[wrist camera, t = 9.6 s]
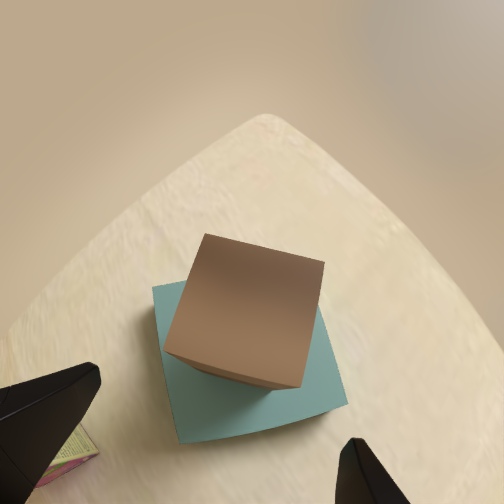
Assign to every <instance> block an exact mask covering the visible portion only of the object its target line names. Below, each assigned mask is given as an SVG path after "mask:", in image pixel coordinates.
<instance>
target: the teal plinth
mask: <svg viewBox="0 0 504 504" xmlns="http://www.w3.org/2000/svg"><path fill="white" fill-rule="evenodd" d="M186 281H187V280H186ZM186 281H181V282H176V283H171V284H166V285H160V286H155V287H152V289H153V299H154V308H155V316H156V324H157V331H158V338H159V345H160V351H161V357H162V363H163V369H164V375H165V380H166V385H167V390H168V395H169V400H170V405H171V409H172V414H173V418H174V422H175V427H176V431H177V435H178V439H179V443H180V444H186V443H195V442H202V441H209V440H216V439H222V438H228V437H233V436H238V435H243V434H248V433H253V432H257V431H262V430H266V429H270V428H274V427H278V426H282V425H285V424H289V423H293V422H296V421H299V420H303V419H306V418H309V417H312V416H316V415H319V414H322V413H325V412H327V411H330V410H333V409H336V408H339V407H341V406H344V405H347V404H348V401H347V398H346V394H345V391H344V387H343V383H342V380H341V377H340V373H339V370H338V366H337V363H336V360H335V356H334V353H333V350H332V346H331V343H330V340H329V337H328V334H327V330H326V327H325V324H324V321H323V318H322V315H321V312H320V308H319V305H318V307H317V312H316V318H315V323H314V328H313V333H312V338H311V343H310V348H309V353H308V358H307V362H306V367H305V371H304V376H303V380H302V384H301V388H294V389H284V390H274V391H271V390H267V389H262V388H258V387H254V386H250V385H246V384H242V383H238V382H234V381H230V380H227V379H223V378H220V377H216V376H213V375H209V374H206V373H203V372H200V371H198V370H196V369H195V368H193V367H191V366H189V365H187V364H185V363H184V362H182V361H180V360H178V359H177V358H175V357H173V356H171V355H170V354H168V353H166V352H165V351H163V347H164V344H165V341H166V338H167V335H168V332H169V329H170V326H171V323H172V320H173V317H174V315H175V312H176V309H177V306H178V303H179V301H180V298H181V295H182V292H183V290H184V287H185V284H186Z"/></svg>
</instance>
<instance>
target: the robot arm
mask: <svg viewBox="0 0 504 504" xmlns="http://www.w3.org/2000/svg"><path fill="white" fill-rule="evenodd" d="M100 386H101V377H100V371H99V367H98V366H97V365H95V364H93V363H91V362H85V363H82V364H79V365H76V366H73V367H70V368H67V369H64V370H61V371H58V372H55V373H52V374H49V375H45V376H42V377H39V378H36V379H32V380H29V381H26V382H22V383H19V384H15V385H12V386H11V387H10V386H8V387H4V388H1V389H0V504H25V502H26V501H27V499H28V497H29V496H30V494H31V493H32V491H33V490H34V488H35V486H36V485H37V483H38V482H39V480H40V479H41V477H42V476H43V474H44V473H45V471H46V470H47V468H48V467H49V465H50V464H51V462H52V461H53V460H54V458H55V457H56V455H57V454H58V452H59V451H60V449H61V448H62V446H63V445H64V444H65V442H66V441H67V439H68V438H69V437H70V435H71V434H72V432H73V431H74V429H75V428H76V427H77V425H78V424H79V422H80V421H81V420H82V418H83V417H84V415H85V413H86V412H87V410H88V408H89V406H90V404H91V402H92V401H93V399H94V397H95V395H96V393H97V392H98V390H99V388H100ZM335 504H410V502H409V501H408V500H407V498H406V497H405V495H404V494H403V493H402V491H401V490H400V489H399V487H398V486H397V485H396V483H395V482H394V481H393V479H392V478H391V476H390V475H389V474H388V472H387V471H386V470H385V468H384V467H383V465H382V464H381V463H380V461H379V460H378V459H377V457H376V456H375V454H374V453H373V452H372V450H371V449H370V447H369V446H368V445H367V443H366V442H365V440H364V439H362V438H351V439H350V440H349V441H348V443H347V444H346V445H345V446H344V448H343V449H342V451H341V453H340V459H339V467H338V475H337V482H336V490H335Z"/></svg>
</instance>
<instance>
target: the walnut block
mask: <svg viewBox="0 0 504 504" xmlns="http://www.w3.org/2000/svg"><path fill="white" fill-rule="evenodd" d="M324 264H325V262H323V261H319V260H315V259H311V258H306V257H302V256H298V255H294V254H290V253H286V252H282V251H277V250H273V249H269V248H265V247H261V246H257V245H252V244H248V243H244V242H240V241H235V240H231V239H227V238H223V237H219V236H214V235H210V234H206V233H205V235H204V237H203V240H202V242H201V245H200V247H199V250H198V252H197V255H196V258H195V260H194V263H193V265H192V268H191V271H190V273H189V276H188V279H187V281H186V284H185V287H184V290H183V292H182V295H181V298H180V301H179V303H178V306H177V309H176V312H175V315H174V317H173V320H172V323H171V326H170V329H169V332H168V335H167V338H166V341H165V344H164V347H163V351H165V352H166V353H168V354H170V355H171V356H173V357H175V358H177V359H178V360H180V361H182V362H184V363H185V364H187V365H189V366H191V367H193V368H195V369H196V370H198V371H200V372H203V373H206V374H209V375H213V376H216V377H220V378H223V379H227V380H230V381H234V382H238V383H242V384H246V385H250V386H254V387H258V388H262V389H267V390H271V391H274V390H284V389H294V388H301V384H302V380H303V376H304V371H305V367H306V362H307V358H308V353H309V348H310V343H311V338H312V333H313V328H314V323H315V318H316V312H317V307H318V301H319V295H320V289H321V283H322V277H323V270H324Z"/></svg>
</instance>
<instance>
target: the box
mask: <svg viewBox="0 0 504 504" xmlns="http://www.w3.org/2000/svg"><path fill="white" fill-rule="evenodd" d="M98 453H99V451H98V450H97V448H96V447H95V445H94V444H93V443H92V441H91V440H90V438H89V437H88V435H87V434H86V432H85V431H84V429H83V428H82V426H81V424H80V423H79V424H78V425H77V427H76V428H75V429H74V431H73V432H72V434H71V435H70V437H69V438H68V439H67V441H66V442H65V444H64V445H63V446H62V448H61V449H60V451H59V452H58V454H57V455H56V457H55V458H54V460H53V461H52V462H51V464H50V465H49V467H48V468H47V470H46V471H45V473H44V474H43V476H42V477H41V479H40V480H39V482H38V483H37V485H36V486H35V488H37V487H41V486H43V485H45V484H47V483H48V482H50V481H52V480H54V479H55V478H57V477H59V476H61V475H63V474H64V473H66V472H68V471H70V470H72V469H73V468H75V467H77V466H78V465H80V464H82V463H83V462H85V461H87V460H88V459H90V458H92V457H93V456H95V455H96V454H98Z"/></svg>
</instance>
